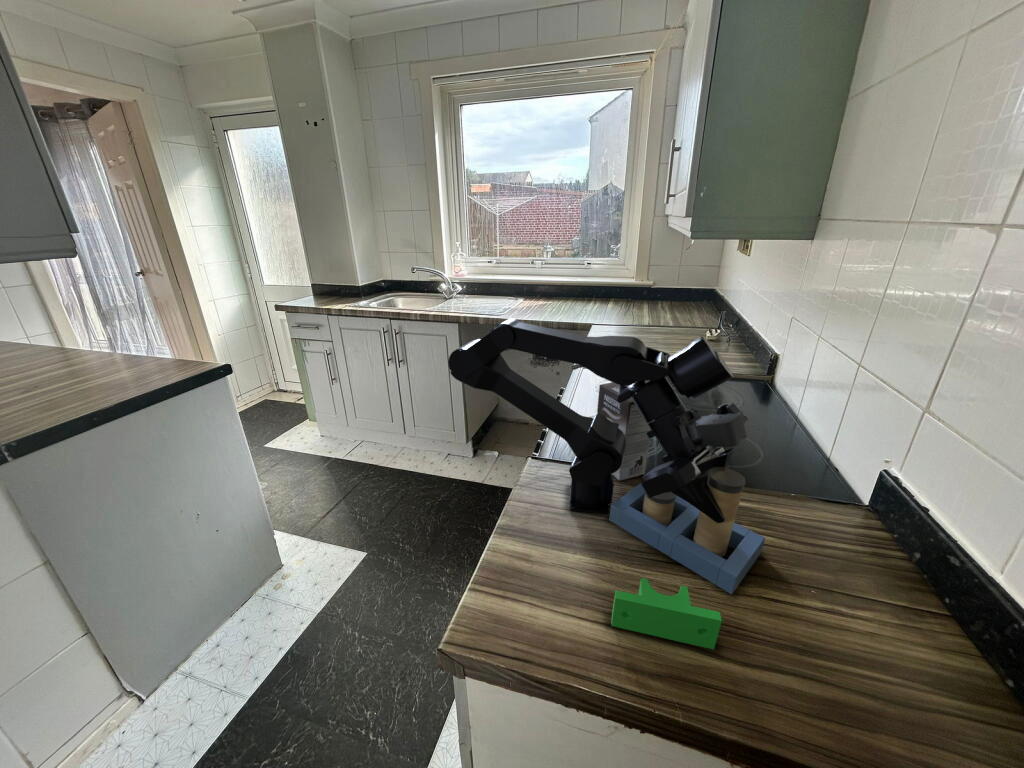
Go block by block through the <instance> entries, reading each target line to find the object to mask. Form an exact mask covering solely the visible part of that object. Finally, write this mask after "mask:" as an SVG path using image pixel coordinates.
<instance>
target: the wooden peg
mask: <svg viewBox="0 0 1024 768" xmlns="http://www.w3.org/2000/svg"><path fill="white" fill-rule="evenodd" d="M707 485H708V487H709V488H710V490H711V492H712V494H713V496H714V498H715V500H716V502H717V504H718V506H719V507H720V509H721V511H722V514H723V516H724V518H725V521H724V522H722V523H716V522H715V521H714V520H712V519H711V518H709V517H708V516H707V515H705V514H704V513H702V512H701V511H699V516H698V520H697V525H696V529H695V532H694V533H693V538H692V541H693V542H695V543H697V544H698V545H700V546H702V547H704V548H706V549H707V550H709V551H711V552H713V553H715V554H716V555H718V556H720V557H722V558H723V557H724V556H726V554H727V552H728V548H729V546H728V544H729V540H730V536H731V533H732V529H733V525H734V523H735V521H736V518H737V513H738V511H739V506H740V502H741V498H742V496H743V491H744V489H745V485H746V478H745V477H744V475H742V474H741V473H740V472H739V471H736V470H734V469H731V468H730V467H729V468H724V467H713V468H711V469H709V475H708V480H707Z"/></svg>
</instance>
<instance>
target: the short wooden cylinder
mask: <svg viewBox="0 0 1024 768" xmlns="http://www.w3.org/2000/svg"><path fill="white" fill-rule="evenodd" d="M675 499H676V495H675V494H673V493H672V492H668V493H663V494H660V495H657V496H654V497H651V498H649V497H648V495H647V494H646V492H645V497H644V503H643V508H642V509H641V513H643V514H645V515H646V516H648V517H650V518H652V519H654V520H655V521H657V522H659V523H661V524H663V525H664V526H666V527H668V526H669V525H670V524H671V523H672V518H673V517H672V513H673V508H674V503H675Z"/></svg>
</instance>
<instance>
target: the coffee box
mask: <svg viewBox="0 0 1024 768" xmlns="http://www.w3.org/2000/svg"><path fill="white" fill-rule="evenodd" d="M598 387H599V388H598V397H597V409H596V413H597V412H599V413H601V414H603V415H604V416H605V417H606V418H607V419H608V420H610V421H612V422H614V423H618V424H619V426H618V428H619V429H620V430H621V431H622V432H623V433H624V435H625V439H626V446H625V451H624V455H623V460H622V464H621V466H620V468H619V470H617V471H616V472H615V473H612V474H611V475H612V476H613V477H615V479H616V480H618V481H619V482H620V481H624V480H627V479H631V478H635V477H639V476H644V475H645V474H646V468H647V462H648V455H649V450H650V444H651V438H650V439H649V437H648V436H647V434H646V432H648V431H650V430H651V429H650V427H649V426H648V423H647V422H646V421H645V419H644V417H643V416H642V414H641V412H640V411H639V409H638V408H637V406H636V404H635V403H634V401H633V400H632V398H630V399H628V400H626V401H623V402H620V403H618V402H617V397H618V394H619V390H620V385H619V384H616V383H613V382H606V383H602V384H599V385H598ZM649 423H650V422H649Z"/></svg>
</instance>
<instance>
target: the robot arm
mask: <svg viewBox="0 0 1024 768" xmlns="http://www.w3.org/2000/svg"><path fill="white" fill-rule="evenodd" d="M506 350H513V351H514V350H515V351H518V352H524V353H527V354H532V355H536V356H540V357H544V358H548V359H551V360H557V361H560V362H561V361H562V362H565V363H569V364H574V365H578V366H580V367H583V368H585V369H587V370H588V371H590V372H592V373H593V374H594V375H596V376H597V377H599V378H602V379H604V380H607V381H609V382H610V383H612V382H613V383H616V384H619V385H620V390H619V394H618V397H617V402H618V403H620V402H623V401H626V400H628V399H630V398H632V400H633V401H634V403H635V404H636V406H637V408H638V409H639V411H640V412H641V414H642V416H643V417H644V419H645V421H646V422H647V423H648V426H649V427H650V429H651V430H650V431H648V432H646V434H647V436H648V437H649V439H650V440H651V439H652V438H654V437H655V439H656V441H657V442H658V444H659V445H660V447H661V449H662V450H663V452H664V454H665V455H663V456H662V457H661V460H662V462H663V463H662V464H659V465H657V466H655V467H653V468H652V469H651V470H649V471H648V472H646V473H645V474H643V475H641V476H642V477H641V482H640V483H641V485H642V487H643V489H644V490H645V492H646V494H647V495H648V497H649V498H651V497H654V496H657V495H660V494H663V493H668V492H672V493H673V494H675V495H677V496H678V497H680V498H682V499H683V500H685V501H687V502H688V503H690V504H691V505H692V506H694V507H695V508H697V509H698V510H700V511H701V512H702V513H704V514H705V515H707V516H708V517H709V518H711V519H712V520H714V521H715V522H716V523H722V522H724V521H725V518H724V516H723V514H722V511H721V509H720V507H719V506H718V504H717V502H716V500H715V498H714V496H713V494H712V492H711V490H710V488H709V487H708V485H707V480H708V475H709V469H711V468H713V467H724V468H729V469H730V467H729V464H730V461H731V458H732V455H733V453H734V452H735V448H734V447H736V446H738V445H739V444H740V441H742V440H743V439H746V438H747V437H748V434H747V430H746V426H745V424H746V423H747V422H748V420H749V419H748V416H746V415H744V413H743V411H742V410H740V409H739V408H738V406H737V405H736V404H735V403H734V402H728V403H722V404H721V405H719V406H718V407H717V409H716V413H711V414H709V415H701V414H700V413H699V411H698V410H697V409H696V408H694V407H691V408H689V409H687V407H686V405H684V403H683V401H682V399H681V398H680V397H679V395H678V393H679V394H680V396H683V397H686V398H687V399H690V398H693V399H696V398H698V397H700V396H702V395H703V394H706V393H707V392H709V391H711V390H713V389H714V388H717V387H719V386H720V385H722V384H724V383H726V382H727V381H730V380H732V379H733V378H734V375H733V372H732V370H731V369H730V367H729V366H728V364H727V363H726V361H725V360H724V358H723V357H722V356H721V354H720V353H719V351H718V350H717V349H716V350H715V349H714V348H713V346H712V345H711V344H710V343H709V342H708V341H707V340H706V338H705V337H704V336H699V337H697V338H696V339H694V340H693V341H691V343H689V344H688V345H687V346H686V347H683V348H682V349H680V350H678V351H677V352H675V353H674V354H672V355H670V353H668V352H665V351H662V350H659V349H655V348H652V347H649V346H646V345H645V343H644V342H643V340H641V339H640V338H637V337H635V336H628V335H627V336H626V335H602V336H601V335H600V336H587V335H582V334H577V333H573V332H568V331H564V330H559V329H554V328H550V327H545V326H541V325H536V324H533V323H532V324H531V323H527V322H522V321H519V320H518V319H516V318H509V319H506V320H504V321H503V322H501V323H500V324H498V325H496V326H495V327H494V329H493V330H491V331H490V332H489V333H488V334H486V335H484V336H483V337H481V339H480V338H478V339H473V340H470V341H469V342H467V343H465V344H463V345H461V346H460V347H458V348H456V349H455V350H453V351H452V352H451V353H450V355H449V357H448V368H449V374H450V375H451V376H452V377H453V379H455V380H456V381H458V382H460V383H462V384H464V385H466V386H468V387H471V388H472V389H476V390H481V391H482V390H483V391H486V392H492V393H494V394H496V395H497V396H499V397H500V398H502V399H503V400H505V401H506V402H507V403H509V404H511V406H514V407H515V408H517V409H518V410H519V411H521V412H522V413H524V414H525V415H527V416H529V418H532V419H533V420H534V421H536V422H537V423H539V424H540V425H542V426H543V427H545V428H547V429H548V430H549V431H551V432H552V433H554V434H555V435H557V436H558V437H560V438H561V439H563V440H564V441H565V442H566V443H567V445H568V446H569V448H570V449H571V451H572V453H573V455H574V457H573V460H572V461H571V464H570V466H569V469H568V472H569V476H570V485H569V496H568V497H569V499H568V509H569V510H570V511H574V512H584V513H593V514H602V515H609V514H610V505H612V504H613V503H612V502H613V495H614V487H615V484H614V483H615V482H614V475H612V473H615V472H616V471H617V470H619V468H620V466H621V464H622V460H623V455H624V451H625V446H626V439H625V435H624V433H623V432H622V431H621V430H620V429H619V428H618V426H619V424H618V423H614V422H612V421H610V420H608V419H607V418H606V417H605V416H604V415H603V414H601V413H599V412H597V411H596V413H595V415H594V417H590V416H585V415H582V414H579V413H578V412H577V411H575V410H574V409H572V408H570V407H569V406H567V405H566V404H564V403H563V402H561V401H560V400H558V399H557V398H556V397H554V396H553V395H551V394H549V393H548V392H546V391H544V389H542V388H540V387H539V386H537V385H535V384H534V383H532V382H531V381H530V380H528V379H526V378H525V377H524V376H522V375H520V374H519V373H517V372H516V371H514V370H513V369H511V368H510V366H509V365H508V363H507V362H506V360H505V358H504V357H503V355H502V354H501V353H503V352H504V351H506ZM667 377H668V378H669V379H668V378H667ZM669 380H670V381H671V383H672V384H671V383H670V381H669ZM672 385H673V386H672ZM675 389H676V390H675ZM677 392H678V393H677ZM649 422H650V423H649ZM725 448H728V449H726V450H725Z"/></svg>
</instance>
